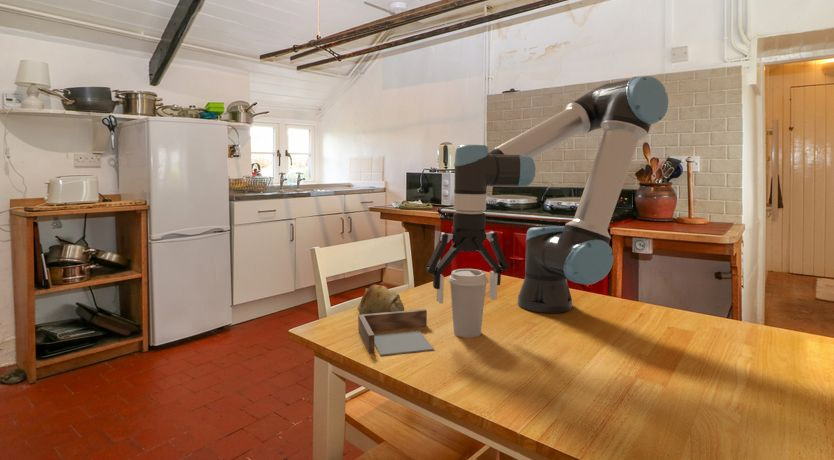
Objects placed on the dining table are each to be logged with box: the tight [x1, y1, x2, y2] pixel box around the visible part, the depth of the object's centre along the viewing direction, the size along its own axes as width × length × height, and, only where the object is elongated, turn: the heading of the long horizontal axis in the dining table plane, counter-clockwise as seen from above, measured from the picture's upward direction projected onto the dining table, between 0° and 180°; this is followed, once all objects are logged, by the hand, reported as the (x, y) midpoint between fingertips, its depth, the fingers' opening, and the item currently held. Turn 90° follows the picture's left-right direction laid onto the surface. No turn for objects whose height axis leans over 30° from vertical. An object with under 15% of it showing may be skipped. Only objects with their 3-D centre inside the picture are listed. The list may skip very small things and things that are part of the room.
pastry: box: [357, 284, 405, 315], centre depth 130 cm, size 14×12×8 cm
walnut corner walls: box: [357, 308, 428, 354], centre depth 111 cm, size 17×15×4 cm
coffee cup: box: [447, 268, 490, 339], centre depth 114 cm, size 10×10×15 cm
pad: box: [374, 329, 435, 357], centre depth 108 cm, size 12×12×1 cm
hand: (466, 300), depth 114 cm, fingers open, 13 cm apart
